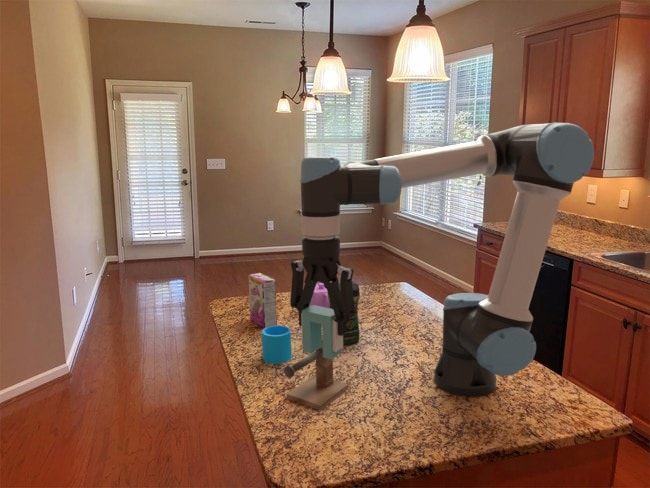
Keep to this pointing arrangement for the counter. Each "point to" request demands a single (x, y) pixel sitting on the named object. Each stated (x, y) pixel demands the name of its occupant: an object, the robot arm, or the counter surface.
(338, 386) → the stand
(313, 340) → the c link
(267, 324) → the candy bar box
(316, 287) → the teapot
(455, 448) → the counter surface
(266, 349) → the mug
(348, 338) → the coffee jar
